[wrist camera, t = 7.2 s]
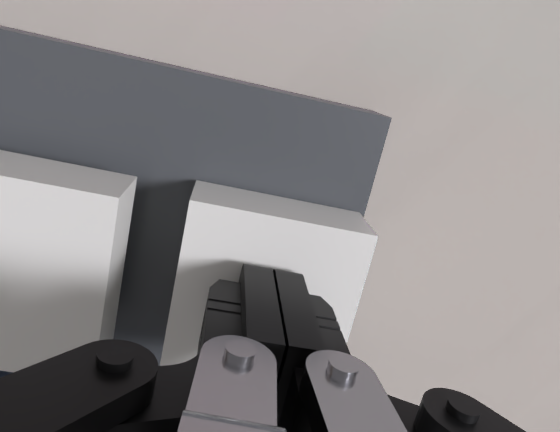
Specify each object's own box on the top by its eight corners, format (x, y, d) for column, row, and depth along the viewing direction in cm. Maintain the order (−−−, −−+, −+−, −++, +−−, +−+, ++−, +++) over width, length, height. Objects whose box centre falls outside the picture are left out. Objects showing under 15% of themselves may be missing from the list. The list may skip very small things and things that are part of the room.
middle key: (137, 176, 12) (118, 197, 10) (113, 338, 14) (93, 382, 12) (-62, 137, 12) (-120, 152, 10) (-67, 310, 13) (-120, 354, 11)
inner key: (359, 212, 14) (378, 236, 12) (319, 353, 15) (331, 394, 13) (196, 180, 13) (189, 199, 11) (168, 330, 15) (158, 370, 13)
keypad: (372, 110, 15) (436, 134, 10) (285, 429, 19) (302, 563, 14) (-249, -32, 13) (-548, -88, 8) (-222, 364, 16) (-424, 497, 11)
